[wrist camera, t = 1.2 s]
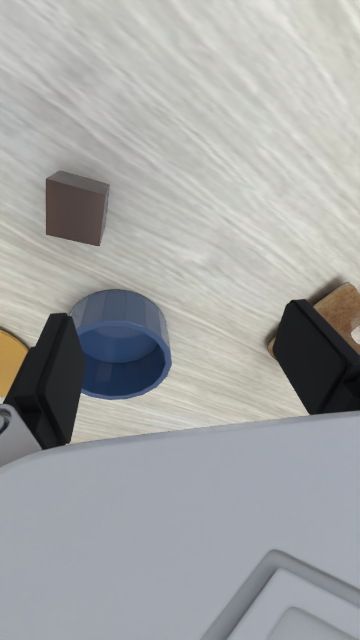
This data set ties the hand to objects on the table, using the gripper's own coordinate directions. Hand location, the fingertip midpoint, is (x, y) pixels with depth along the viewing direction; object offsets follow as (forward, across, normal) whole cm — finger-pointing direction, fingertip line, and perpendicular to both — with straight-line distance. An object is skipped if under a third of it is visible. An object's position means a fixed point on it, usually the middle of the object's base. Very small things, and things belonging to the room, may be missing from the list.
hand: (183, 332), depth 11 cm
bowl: (+20, +6, +16) cm, 26 cm away
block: (+20, +7, -1) cm, 21 cm away
